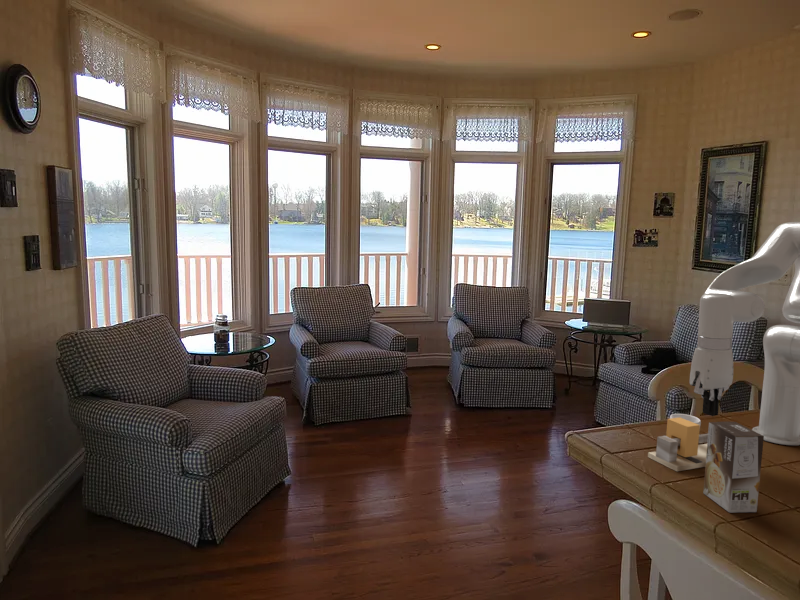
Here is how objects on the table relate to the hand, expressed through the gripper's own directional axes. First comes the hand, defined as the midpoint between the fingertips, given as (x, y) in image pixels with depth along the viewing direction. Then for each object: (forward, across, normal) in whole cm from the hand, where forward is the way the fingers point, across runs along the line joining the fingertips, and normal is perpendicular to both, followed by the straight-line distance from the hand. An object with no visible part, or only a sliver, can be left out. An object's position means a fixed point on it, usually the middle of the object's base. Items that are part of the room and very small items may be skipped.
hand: (710, 413), depth 145 cm
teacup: (+11, -4, -11) cm, 16 cm away
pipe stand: (+10, +7, +1) cm, 12 cm away
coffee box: (+10, +19, +21) cm, 30 cm away
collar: (+8, +11, +1) cm, 13 cm away
